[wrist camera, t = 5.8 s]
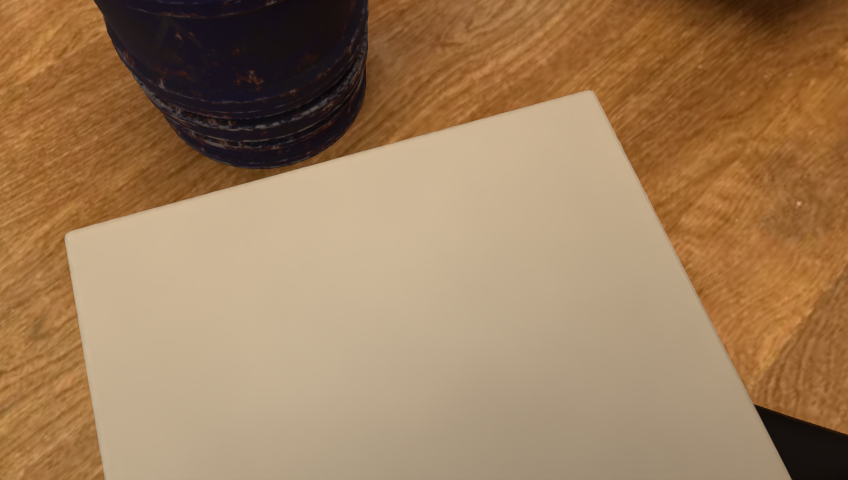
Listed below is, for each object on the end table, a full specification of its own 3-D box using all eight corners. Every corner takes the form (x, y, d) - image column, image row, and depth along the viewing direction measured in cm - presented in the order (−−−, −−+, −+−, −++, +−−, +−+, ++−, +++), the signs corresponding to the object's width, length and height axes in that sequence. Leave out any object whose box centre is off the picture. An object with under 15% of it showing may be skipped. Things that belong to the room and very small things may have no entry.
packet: (501, 510, 14) (988, 850, 3) (353, 573, 13) (236, 1358, 2) (435, 329, 16) (594, 82, 4) (298, 376, 15) (54, 229, 4)
